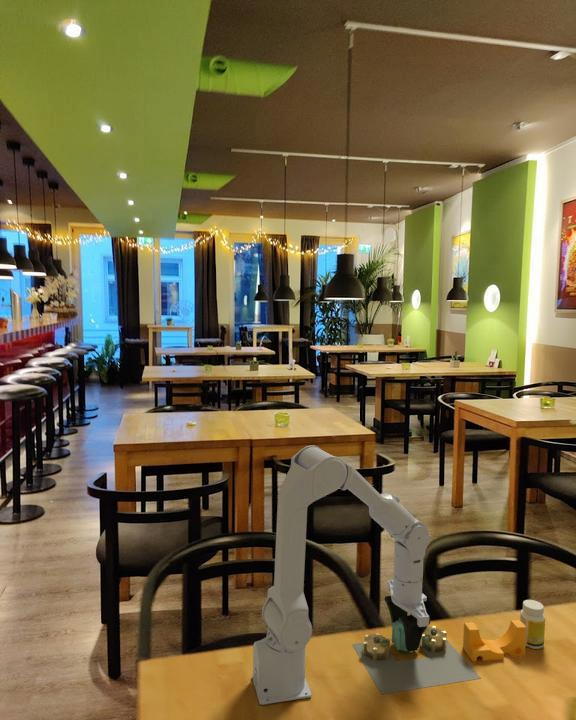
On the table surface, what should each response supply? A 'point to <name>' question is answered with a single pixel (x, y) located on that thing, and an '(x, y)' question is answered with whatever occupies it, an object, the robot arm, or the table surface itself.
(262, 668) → the robot arm
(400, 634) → the teal gear
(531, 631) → the supplement bottle
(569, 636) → the table surface
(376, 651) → the gear board
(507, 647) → the pipe clamp
